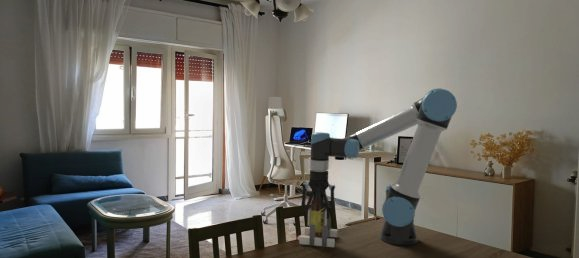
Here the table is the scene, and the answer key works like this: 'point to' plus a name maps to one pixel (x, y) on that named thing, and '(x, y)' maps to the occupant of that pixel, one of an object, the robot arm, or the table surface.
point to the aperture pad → (302, 235)
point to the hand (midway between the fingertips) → (317, 225)
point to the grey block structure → (316, 240)
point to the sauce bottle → (317, 212)
